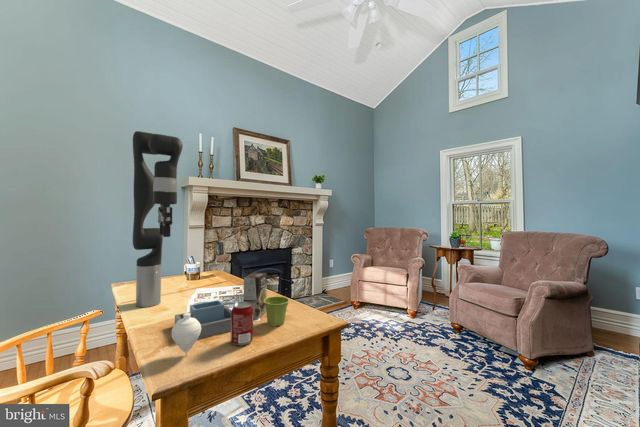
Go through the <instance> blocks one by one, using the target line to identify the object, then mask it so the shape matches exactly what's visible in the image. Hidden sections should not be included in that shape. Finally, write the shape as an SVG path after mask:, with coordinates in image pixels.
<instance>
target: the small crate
mask: <svg viewBox="0 0 640 427" xmlns="http://www.w3.org/2000/svg"><path fill="white" fill-rule="evenodd" d="M224 306H225V304H224V303H223V302H222V301H221V300H219V299H218V300H217V299H216V300H212V301H206V302H205V301H204V302H201V303H195V304H190V305H189V312H190V314H191V315H190V317H191V318H195V319H197V320H198V321H199V323H200V324H205V323H210V322H215V321H219V320H224Z"/></svg>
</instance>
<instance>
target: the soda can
mask: <svg viewBox="0 0 640 427" xmlns="http://www.w3.org/2000/svg"><path fill="white" fill-rule="evenodd" d="M230 310H231V331H230V343H231V344H232V345H235V346H241V347H242V346H246V345H248V344H249V343H251V342H252V341H253V340H254V336H253V335H254V319H253V308H252V306H251V303H250V302H243V301H238V302H235V303H233V307H232V308H231V309H230Z"/></svg>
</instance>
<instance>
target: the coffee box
mask: <svg viewBox="0 0 640 427" xmlns="http://www.w3.org/2000/svg"><path fill="white" fill-rule="evenodd" d="M267 289H268V273H267V272H252V273H250V274H248V275H246V276H244V277H243V296H242V299H243V300H242V302H250V303H251V306H252V308H253V320H255V319H256V321H257V320H259V319H260V318H261V317H262V316H264V314H265V313H267V312H266V306H265V303H264V299H266V298H268V297H267V295H268V294H267V293H268V290H267Z"/></svg>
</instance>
